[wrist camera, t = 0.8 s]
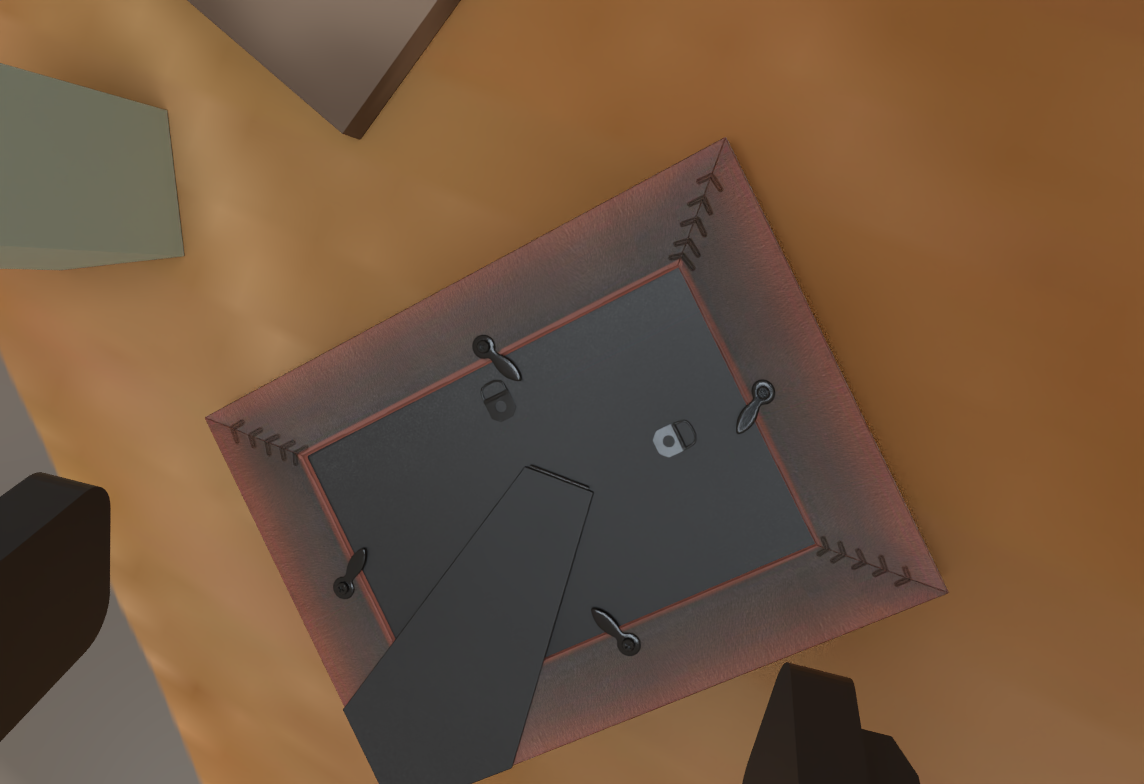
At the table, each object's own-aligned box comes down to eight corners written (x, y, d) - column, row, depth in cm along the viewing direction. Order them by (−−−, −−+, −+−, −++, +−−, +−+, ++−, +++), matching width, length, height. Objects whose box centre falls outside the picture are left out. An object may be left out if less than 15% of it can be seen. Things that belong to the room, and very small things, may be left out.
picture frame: (417, 784, 41) (940, 574, 36) (392, 815, 38) (950, 595, 33) (236, 409, 41) (730, 146, 36) (200, 416, 39) (725, 135, 33)
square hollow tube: (42, 129, 41) (-226, 72, 30) (167, 110, 40) (-68, 43, 29) (60, 270, 41) (-198, 262, 31) (184, 255, 40) (-41, 243, 30)
